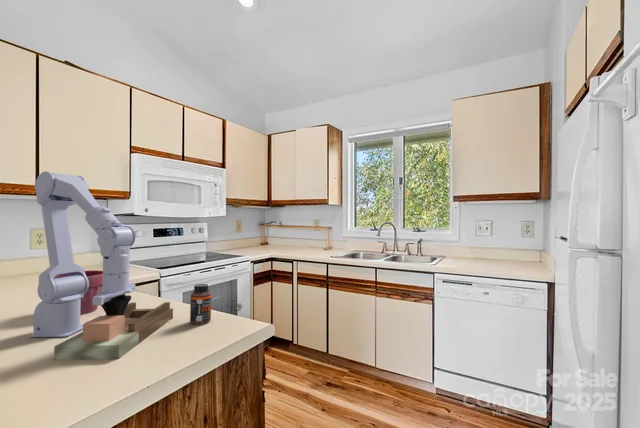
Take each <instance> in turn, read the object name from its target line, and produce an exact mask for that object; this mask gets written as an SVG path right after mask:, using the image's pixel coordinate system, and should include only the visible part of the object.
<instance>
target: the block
mask: <svg viewBox="0 0 640 428" xmlns="http://www.w3.org/2000/svg"><path fill="white" fill-rule="evenodd" d="M82 325H83V329H82V332H83V341H110V340H112V339H113V338H115V337H116V336H118V335H120V334H121V333H123V332H124V331H125V315H123V316H104V315H99V316H97V317H95V318H93V319H90V320H88V321H86V322H85V323H83V324H82Z"/></svg>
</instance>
